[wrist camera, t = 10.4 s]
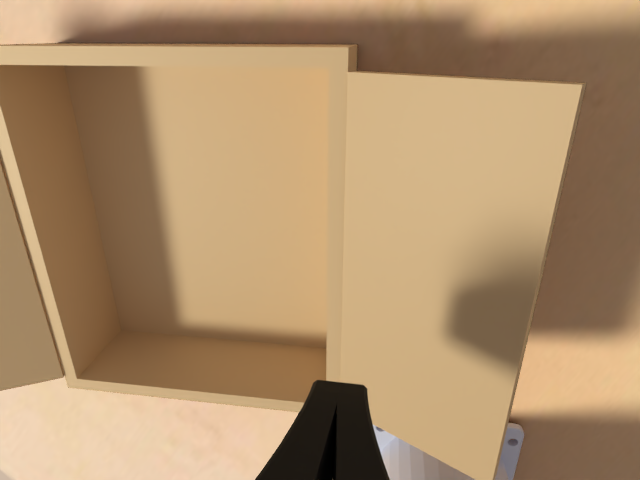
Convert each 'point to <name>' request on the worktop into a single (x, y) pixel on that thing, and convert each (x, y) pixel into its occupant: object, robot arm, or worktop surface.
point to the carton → (184, 212)
